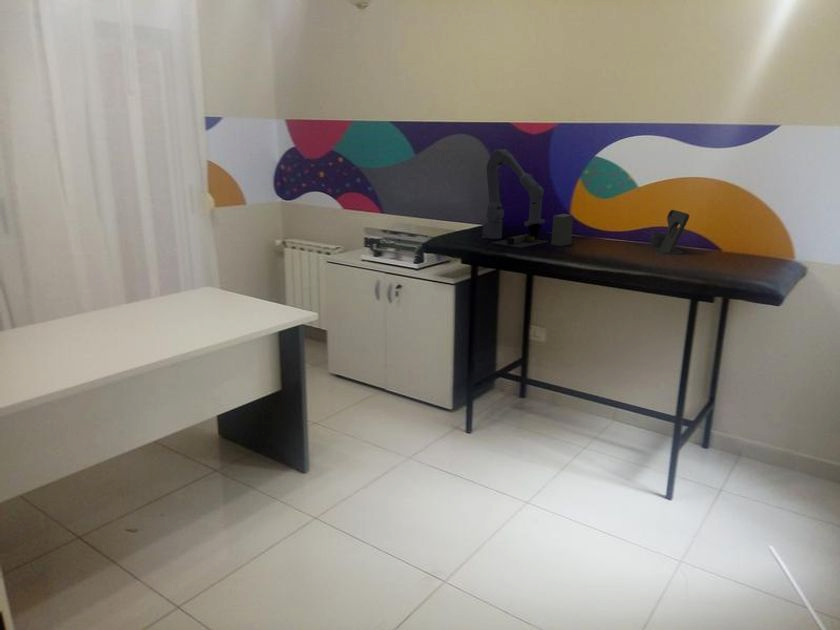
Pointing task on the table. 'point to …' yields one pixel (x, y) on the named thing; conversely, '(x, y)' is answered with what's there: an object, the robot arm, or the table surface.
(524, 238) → the bar
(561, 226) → the skincare box
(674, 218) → the phone holder
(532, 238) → the block
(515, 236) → the tongs fixed
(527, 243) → the mat
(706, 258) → the table surface
